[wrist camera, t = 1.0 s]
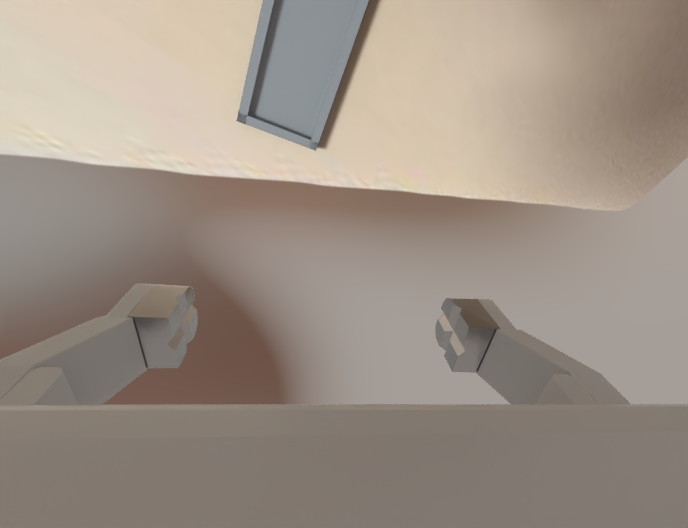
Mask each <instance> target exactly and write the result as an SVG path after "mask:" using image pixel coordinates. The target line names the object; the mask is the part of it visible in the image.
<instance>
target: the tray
mask: <svg viewBox="0 0 688 528" xmlns="http://www.w3.org/2000/svg"><path fill="white" fill-rule="evenodd" d="M368 2H369V0H263V3H262V8H261V12H260V17H259V21H258V26H257V31H256V35H255V40H254V44H253V49H252V53H251V58H250V63H249V67H248V72H247V76H246V81H245V86H244V90H243V95H242V99H241V104H240V109H239V113H238V118H237V121H239V122H241V123H244V124H247V125H249V126H252V127H254V128H257V129H260V130H262V131H265V132H268V133H270V134H273V135H276V136H278V137H281V138H284V139H286V140H289V141H292V142H294V143H297V144H300V145H302V146H305V147H308V148H310V149H313V150H315V151H316V149H317V146H318V143H319V140H320V138H321V135H322V132H323V129H324V126H325V123H326V121H327V118H328V115H329V112H330V109H331V106H332V104H333V101H334V98H335V95H336V92H337V89H338V87H339V84H340V81H341V78H342V75H343V72H344V70H345V67H346V64H347V61H348V58H349V55H350V53H351V50H352V47H353V44H354V41H355V38H356V36H357V33H358V30H359V27H360V24H361V21H362V19H363V16H364V13H365V10H366V7H367V4H368Z"/></svg>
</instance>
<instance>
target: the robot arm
mask: <svg viewBox="0 0 688 528" xmlns="http://www.w3.org/2000/svg"><path fill="white" fill-rule="evenodd" d="M194 299H195V296H194V290H193V289H192V288H191V287H190V286H189V287H188V286H174V285H158V284H157V285H155V284H136V285H134V286H133V287H132V288H131V289H130V290H129V292H128V293H127V294H126V295H125V296H124V297H123V298H122V299H121V300H120V301H119V302H118V304H116V306H115V307H114V308H113V309H112V310H111V311H110V312H109V313H108V314H107V315H106V316H105V317H101V316H99V317H97V318H95V319H92V320H90V321H88V322H85V323H83V324H81V325H79V326H76V327H74V328H72V329H70V330H67V331H65V332H63V333H60V334H58V335H56V336H53V337H51V338H49V339H47V340H44V341H42V342H40V343H38V344H35V345H33V346H31V347H28V348H26V349H24V350H21V351H19V352H17V353H15V354H12V355H10V356H8V357H5V358H3V359H1V360H0V528H688V404H632V405H631V404H630V403H629V402H628V401H627V400H626V399H625V398H624V397H623V396H622V395H621V394H620V393H619V392H618V391H617V390H616V389H615V388H614V387H613V386H612V385H611V384H610V383H609V382H608V381H607V380H606V379H605V378H604V377H603V376H602V375H601V374H600V373H598V372H597V371H595V370H593V369H591V368H589V367H588V366H586V365H584V364H582V363H580V362H578V361H577V360H575V359H573V358H571V357H569V356H568V355H566V354H564V353H562V352H560V351H558V350H557V349H555V348H553V347H551V346H549V345H547V344H546V343H544V342H542V341H540V340H539V339H537V338H535V337H533V336H531V335H529V334H527V333H526V332H524V331H522V330H516V328H515V327H514V326H513V325H512V323H511V322H510V321H509V320H508V319H507V318H506V316H505V315H504V314H503V313H502V312H501V310H500V309H499V308H498V307H497V306H496V305H495V303H494V302H493V301H492V300H489V299H449V298H447V299H446V300H445V301H444V302H443V305H442V307H441V309H442V311H443V313H444V314H443V315H442V316H440V317H439V318H438V320H437V324H436V338H437V341H438V343H439V346H440V347H442V348H443V349H444V350H446V353H445V358H446V360H447V362H448V364H449V366H450V368H451V370H452V371H453V372H476V373H477V374H478V375H479V376H480V377H481V378H482V379H483V380H485V381H486V382H487V383H488V384H489V385H490V386H491V387H492V388H494V389H495V390H496V391H497V392H498V393H499V394H500V395H501V396H503V397H504V398H505V399H506V400H507V401H508V402H509V403H511V404H510V405H509V404H507V405H405V404H403V405H402V404H400V405H397V404H395V405H392V404H389V405H386V404H385V405H384V404H381V405H380V404H379V405H378V404H377V405H376V404H374V405H373V404H368V405H367V404H366V405H364V404H363V405H362V404H360V405H359V404H357V405H354V404H352V405H102V404H103V403H104V402H106V401H107V400H108V399H110V398H111V397H112V396H114V395H115V394H116V393H117V392H119V391H120V390H121V389H123V388H124V387H125V386H126V385H128V384H129V383H130V382H132V381H133V380H134V379H135V378H137V377H138V376H139V375H140V374H142V373H143V372H144V371H146V370H147V369H146V368H179V366H180V364H181V362H182V360H183V358H184V356H185V354H186V351H187V348H186V343H188V342H190V341H191V340H192V339H193V337H194V335H195V333H196V328H197V321H198V319H197V317H198V316H197V310H196V309H195V308H194V307H193V306H192V303H193V301H194Z"/></svg>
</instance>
